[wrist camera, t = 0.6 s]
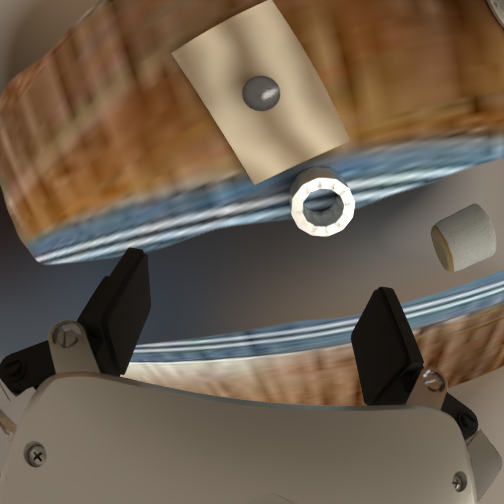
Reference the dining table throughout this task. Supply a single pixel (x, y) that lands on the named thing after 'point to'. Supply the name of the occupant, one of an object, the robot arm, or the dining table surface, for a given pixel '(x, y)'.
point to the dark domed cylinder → (261, 93)
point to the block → (277, 68)
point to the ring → (329, 218)
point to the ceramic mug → (464, 238)
